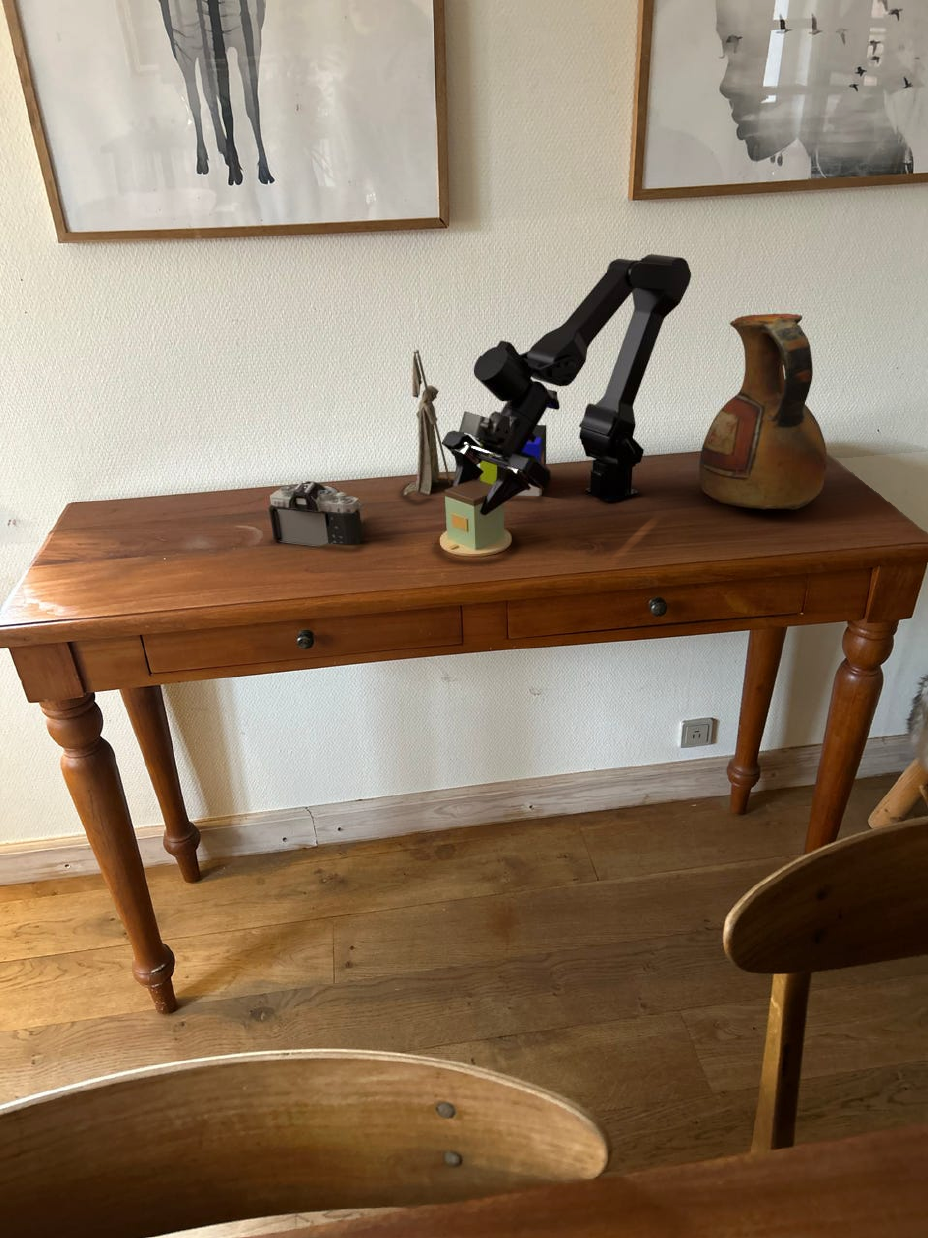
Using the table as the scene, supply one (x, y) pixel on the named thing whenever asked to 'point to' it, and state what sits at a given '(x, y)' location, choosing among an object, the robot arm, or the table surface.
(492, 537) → the box
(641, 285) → the robot arm
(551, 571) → the table surface
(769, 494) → the ceramic pitcher
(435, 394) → the wizard figurine
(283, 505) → the camera
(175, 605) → the table surface
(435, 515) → the table surface
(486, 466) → the puzzle toy
